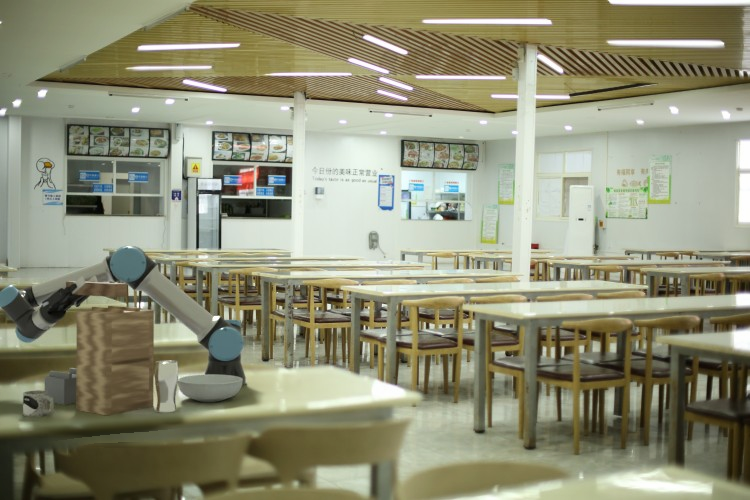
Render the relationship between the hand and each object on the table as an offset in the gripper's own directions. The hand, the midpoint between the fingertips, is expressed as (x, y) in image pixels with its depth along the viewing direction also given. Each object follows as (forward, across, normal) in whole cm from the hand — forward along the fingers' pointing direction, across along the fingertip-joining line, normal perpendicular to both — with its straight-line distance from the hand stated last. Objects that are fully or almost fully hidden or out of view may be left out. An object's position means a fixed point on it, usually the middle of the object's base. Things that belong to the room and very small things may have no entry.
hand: (89, 280), depth 280 cm
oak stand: (-10, -1, -40) cm, 41 cm away
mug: (-18, +20, -35) cm, 44 cm away
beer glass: (+4, -7, -48) cm, 49 cm away
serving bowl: (+1, -29, -46) cm, 54 cm away
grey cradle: (-29, -1, -29) cm, 40 cm away
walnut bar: (0, 0, -6) cm, 6 cm away
